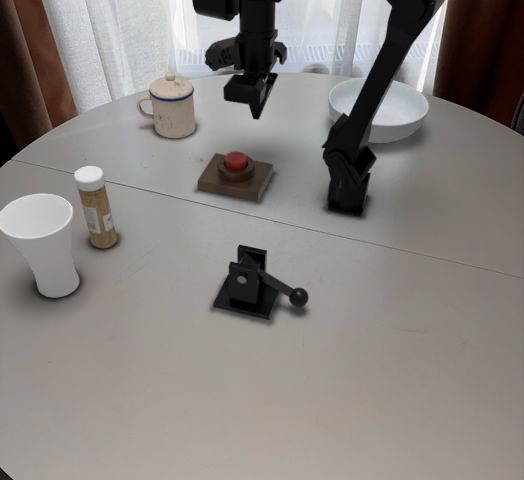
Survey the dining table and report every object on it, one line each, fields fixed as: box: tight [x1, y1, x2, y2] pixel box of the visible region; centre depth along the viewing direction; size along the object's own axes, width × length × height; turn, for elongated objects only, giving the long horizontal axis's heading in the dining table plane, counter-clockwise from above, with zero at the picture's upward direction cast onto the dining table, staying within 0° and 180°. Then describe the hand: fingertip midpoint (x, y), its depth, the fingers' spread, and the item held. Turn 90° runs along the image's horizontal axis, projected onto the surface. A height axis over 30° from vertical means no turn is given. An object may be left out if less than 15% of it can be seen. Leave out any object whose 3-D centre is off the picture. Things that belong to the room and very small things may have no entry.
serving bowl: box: [327, 76, 430, 144], centre depth 123 cm, size 21×21×7 cm
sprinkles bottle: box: [73, 165, 118, 249], centre depth 95 cm, size 5×5×14 cm
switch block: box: [197, 152, 274, 203], centre depth 111 cm, size 12×10×4 cm
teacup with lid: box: [136, 71, 196, 139], centre depth 120 cm, size 12×9×12 cm
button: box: [225, 151, 247, 171], centre depth 109 cm, size 4×4×2 cm
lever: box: [239, 253, 310, 308], centre depth 87 cm, size 12×3×3 cm, turn 73°
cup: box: [0, 193, 80, 299], centre depth 88 cm, size 10×10×14 cm
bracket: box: [212, 244, 281, 321], centre depth 88 cm, size 9×7×9 cm
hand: (256, 118), depth 105 cm, fingers closed
